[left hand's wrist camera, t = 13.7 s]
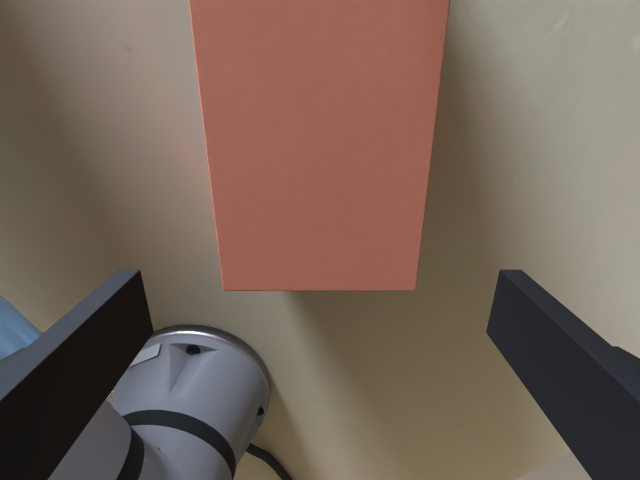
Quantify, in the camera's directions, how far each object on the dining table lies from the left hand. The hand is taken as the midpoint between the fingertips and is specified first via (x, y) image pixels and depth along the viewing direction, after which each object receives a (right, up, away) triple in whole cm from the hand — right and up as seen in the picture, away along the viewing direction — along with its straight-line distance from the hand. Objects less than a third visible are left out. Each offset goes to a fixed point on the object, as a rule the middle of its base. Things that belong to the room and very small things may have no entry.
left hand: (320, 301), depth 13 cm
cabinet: (0, +11, +14) cm, 18 cm away
